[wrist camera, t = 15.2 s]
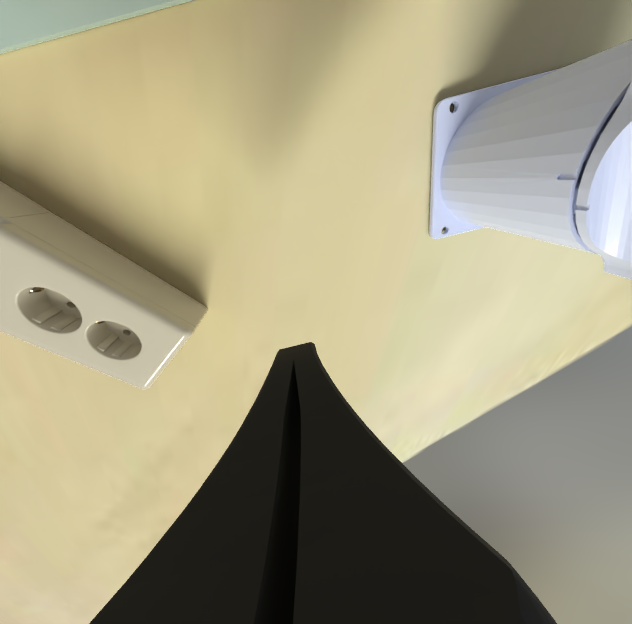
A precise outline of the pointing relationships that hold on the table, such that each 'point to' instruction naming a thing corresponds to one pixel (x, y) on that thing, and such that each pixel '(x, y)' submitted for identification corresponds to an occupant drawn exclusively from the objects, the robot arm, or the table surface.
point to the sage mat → (64, 18)
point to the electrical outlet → (86, 297)
